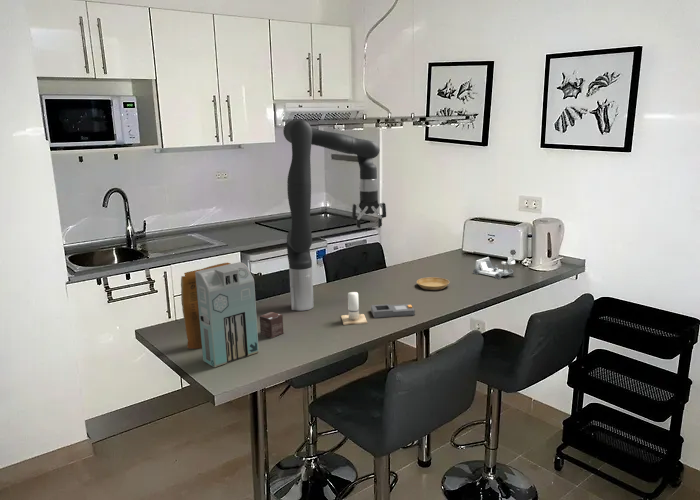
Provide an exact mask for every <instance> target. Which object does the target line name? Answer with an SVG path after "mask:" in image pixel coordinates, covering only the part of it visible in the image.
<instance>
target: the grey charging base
mask: <svg viewBox="0 0 700 500" xmlns="http://www.w3.org/2000/svg"><path fill="white" fill-rule="evenodd" d="M370 312H371V315H372V316H373V319H376V318H391V317H407V316H415V315H416V314H415V313H416V310H415V308H414V307H413V306H412V304H410V303H405V304H404V303H403V304H390V303H386V304H382V303H381V304H370Z"/></svg>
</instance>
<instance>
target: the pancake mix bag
mask: <svg viewBox="0 0 700 500" xmlns="http://www.w3.org/2000/svg"><path fill="white" fill-rule="evenodd" d="M228 264H232V263H230V262H223V263H218V264H214V265H211V266H207V267H204V268H201V269H200V268H199V269H195V270H192V271H186V272H184V275H183V276H182V275H181V278H180V288H181V289H180V292H181V293H180V294H181V295H180V299H181V307H182V309H181V310H182V315H183V320H184V327H185V328H184V329H185V334H186V338H187V347H186V348H187V349H189V350H197V349H198V350H199V349H202V341H201V330H200V319H199V308H198V297H197V286H196V275H195V272H196V271H200V270H205V269H210V268H214V267H219V266H224V265H228Z"/></svg>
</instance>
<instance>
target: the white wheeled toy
mask: <svg viewBox="0 0 700 500" xmlns="http://www.w3.org/2000/svg"><path fill="white" fill-rule="evenodd" d="M507 258H508V259H507V261H501V265H502V266H503V267H502V269H500V267H498V265H497V264H495V265H494V266H493V264H492V262H491V260H490V257H489V256H487V257H483V258H480V259H477V260H475V268H474V269H473V270H472V271H473V274H474V275H479V274H481V275H486V276H490V277H494V278H495V279H496V280H501V279H502V277H503V276H508V275H511V276H512V275H514V270H513V269H512V268H509V266H511V265H515V264H516V260H515V258H513V257H512V256H509V257H507ZM505 265H507V269H505Z"/></svg>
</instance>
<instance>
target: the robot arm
mask: <svg viewBox="0 0 700 500" xmlns="http://www.w3.org/2000/svg"><path fill="white" fill-rule="evenodd" d="M283 136H284V138H285V140H287V142H289V143H291V155H292V156H291V162H290V166H289V171H288V174H287V181H286V182H287V184H286V186H287V199H288V205H289V206H288V207H289V209H290V210H289V211H290V215H291V216H290V218H291V229H289V231H288V232H287V234H286V251H287V259H288V267H289V268H288V270H289V271H288V272H289V289H290V291H289V292H290V305H291V306H290V307H291V309H290V310H291V311H299V312H300V311H301V312H302V311H308V310H309V311H310V310H311V309H314V302H315V301H314V284H313V282H314V280H313V261H312V257H311V251H310V249H311V247H312V244H313V235H312V227H311V226H312V225H311V207H312V205H311V204H312V175H311V171H312V170H311V166H312V165H311V155H312V154H311V151H312V146H318V147H322V148H324V149H329V150H331V151H335V152H340V153H342V154H343V153H344V154H349V155H356V157H357V161H358V162H357V163H358V166H359V203H358V204H357V203H352V206H351V207H352V209H351V211H352V212H351V213H352V214H351V217H352V218H353V219H354V220H355V221H356V227H357V228H358V229H361V218H362V217H363V215H364V214H365V215H369V214H370V215H372V214H375V215H376V216H377V217H378V218H377V227H378V228H379V229H380V228H381V227H382V225H383V219H384V218H386V217H387V208H386V206H387V205H386V203H385V202H381V203H380V202H379V195H378V194H379V193H378V192H379V191H378V190H379V189H378V188H379V187H378V185H379V184H378V170H377V166H376V165H375V164H374V161H373V160H374V158H376V157H378V155H379V154H380V152H381V151H380V146H379V144H378V143H377V142H376V141H373V140H368V139H364V138H358V137H355V136H351V135H348V134H347V135H346V134H342V133H339V132H332V131H325V130H321V129H318V128H315V127H312V126H311V124H310V123H309V122H308V121H306V120H305V119H293V120H290V121H288V122H287V123H286V124H285V125H284V126H283ZM379 207H380V209H381V211H382V214H380V212H379V211H378V209H379ZM358 208H359V209H360V211H359V212H358V214H357V210H358Z"/></svg>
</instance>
